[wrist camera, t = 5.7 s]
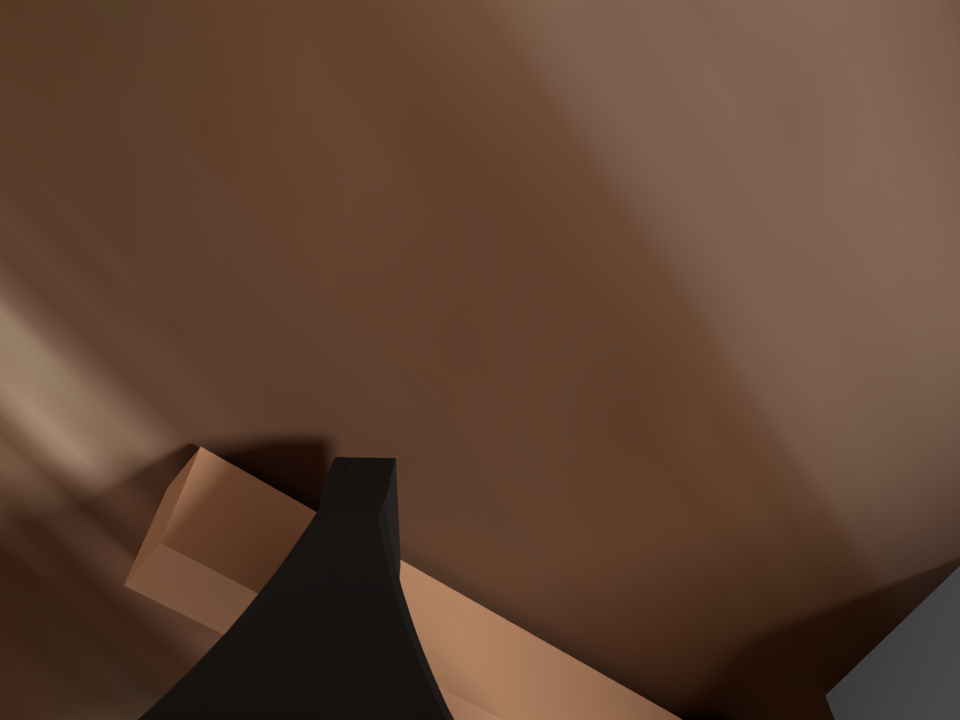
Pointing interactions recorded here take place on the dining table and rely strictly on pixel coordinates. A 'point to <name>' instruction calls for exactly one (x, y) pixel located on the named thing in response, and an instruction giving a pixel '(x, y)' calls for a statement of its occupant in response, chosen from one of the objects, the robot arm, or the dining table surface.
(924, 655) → the plug
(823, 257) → the dining table surface
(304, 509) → the wooden block bar
